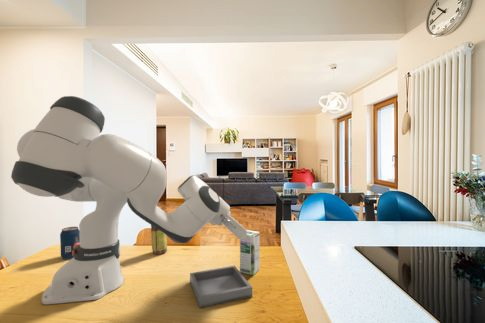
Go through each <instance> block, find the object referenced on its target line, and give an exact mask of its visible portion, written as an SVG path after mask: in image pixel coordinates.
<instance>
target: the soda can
mask: <svg viewBox="0 0 485 323" xmlns="http://www.w3.org/2000/svg"><path fill="white" fill-rule="evenodd" d="M59 240H60V256H61V258H62V259H63V260H71V259H72V258H73V256H72V250H73V247H74V245H75V244H76V243H80V236H79V227H78V226H69V227H65V228H62V229H61V232H60V234H59Z"/></svg>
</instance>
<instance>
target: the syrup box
mask: <svg viewBox="0 0 485 323" xmlns="http://www.w3.org/2000/svg"><path fill="white" fill-rule="evenodd" d="M246 230H247V232H248V233H247V236H248V237H249V238H250V239H251V240H250V242H249V243H247V242H246V241H245V240H243V239H242V240H240V239H239V272H240V273H241V274H247V275H251V276H255V274H256V273H257V272H258V271H260V266H261V265H260V259H261V258H260V249H261V248H260V246H261V245H260V236H261V234H260V232H261V231H255V230H249V229H246Z"/></svg>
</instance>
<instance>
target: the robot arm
mask: <svg viewBox="0 0 485 323" xmlns="http://www.w3.org/2000/svg"><path fill="white" fill-rule="evenodd" d="M105 123H106V122H105V115H104V114H103V112H102V111H101V110H100V109H99V107H97V106H96V105H95V104H94V103H92V102H90V101H88V100H86V99H84V98H81V97H78V96H73V95H68V96H67V95H65V96H61V97H60V98H59V99H57V100H55V102H54V103H53V104H52V105H51V106H50V108H49V111H48V112H46V114H45V115H44V117H43V118H41V120H40V121H39V123H38V124H37V125H36V127H35V128H33V129H30V130H28V131H27V132H25V133H24V134H23V135H22V136H21V137H20V139H19V141H18V142H17V145H16V146H17V147H16V150H17V152H16V153H17V155H18V157H19V158H18V160H17V161H15V162H14V165H13V168H12V171H11V175H10V176H11V177H10V178H11V180H12V181H13V183H14V184H16V185H18V186H19V188H21V189H22V190H23V191H25V192H27V193H29V194H31V195H33V196H37V197H47V198H49V197H55V198H56V197H57V198H59V199H61V200H66V201H70V202H76V203H77V202H80V203H81V202H82V203H83V202H87V203H88V202H96V205H95V206H96V207H95V208H94V210H93V211H92V212H90V213H87V214H86V215H85V216H83V218H82V219H81V221H80V222H79V225H78V226H79V227H78V229H79V236H80V243H76V244H75V245H74V247H73V250H72V256H73V258H72V259H68V260H67V262H66V263H64V264H63V265H61V267H60V268H58V269H57V271H56V272H55V273H54V274H53V278H52V279H51V283H50V284H49V286H47V287H46V289H45V290H44V291H43V293H42V295H41V303H42V304H43V305H54V304H65V303H75V302H86V301H95V300H96V301H97V300H99V299H100V298H103V297H104V296H105V295H106V294H108V293H111V292H113V291H114V290H116V289H118V288H120V287H121V285H123V283H124V282H125V277H124V274H123V272H122V268H121V263H120V256H121V243H120V239H119V220H120V215H121V212H122V211H123V208H124V207H125V205H126V204H127V206H128V208H129V209H130V210H131V211H132V212H133V213H134V214H135V215H136V216H138V217H139V218H140V219H142V220H143V221H144V222H146V223H148V224H149V225H150V226H151V225H152V226H154V227H155V228H157V229H159V230H160V231H162V232H163V233H165V234H166V237H168V238H169V239H170V240H171V241H172V242H174V243H176V244H187V243H189V242H190V241H191V240H192V239H193V238H194V237H195V236H196V234H197V233H198V232H200V231H201V230H202V229H203V228H204V227H205V226H206V225H207V224H208V223H209V224H211V225H212V226H216V225H217V226H224V227H225V228H226V229H227V230H228V231H229V232H230V233H231V234H233V235H234V236H235V237H236V238H237V239H238V240H239V241H240V240H242V239H243V240H245V241H246V242H247V243H249V242H250V240H251V239H250V238H249V237H248V236H247V233H248V232H247V230H248V229H246V228H245V227H244V226H243V225H241V223H239V221H237V220H236V219H235V218H234V217H232V216H231V213H232V212H231V211H230V209H231V207H230V204H228V202H226V201H225V200H224V199H223V198H222V197H221V196H219V195H218V193H217V192H216V191H215V190H214V189H213V188H212V187H211V186H209V185H208V184H207V183H206V182H205V181H203V180H202V179H201V178H199V177H198V176H197V175H190V176H188V177H187V178H186V179H185V180H184V181H183V182H182V183H181V184H179V186H178V187H177V192H178V193H179V194H180V196H181V197H182V198H183V200H184V202H183V203H182V204H181V205H180V206H178V207H177V208H176V209H175V210H173V211H172V212H169V213H167V212H166V211H165V210H163V208H162V209H161V208H159V207H160V206H158V203H159V201H160V199H161V198H162V196H163V195H164V193H165V190H166V188H167V182H168V172H167V169H166V166H165V165H164V164H163V162H162V160H160V159H159V158H158V157H157V156H155V155H154V154H153V153H150V151H147V150H146V149H144V147H141V146H139V145H138V144H136V143H133V142H131V141H129V140H127V139H125V138H123V137H121V136H117V135H114V134H109V133H105V134H101V133H102V132H103V130H104V125H105ZM100 134H101V135H100Z"/></svg>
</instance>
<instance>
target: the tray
mask: <svg viewBox="0 0 485 323" xmlns="http://www.w3.org/2000/svg"><path fill="white" fill-rule="evenodd" d="M189 282H190V285H191V289H192V291H193V293H194V296H195V299H196V301H197V303H198V306H199V309H204V308H209V307H212V306H217V305H222V304H226V303H231V302H236V301H239V300H244V299H248V298H249V299H250V298H252V297H253V286H252V285H251V283H249V281H248V280H247V278H245V277H244V275H243V273H241V272H240V269H238V268H237V267H236V265H229V266H226V267H225V266H222V267H218V268H213V269H206V270H201V271H196V272H195V271H194V272H190V273H189Z"/></svg>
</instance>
